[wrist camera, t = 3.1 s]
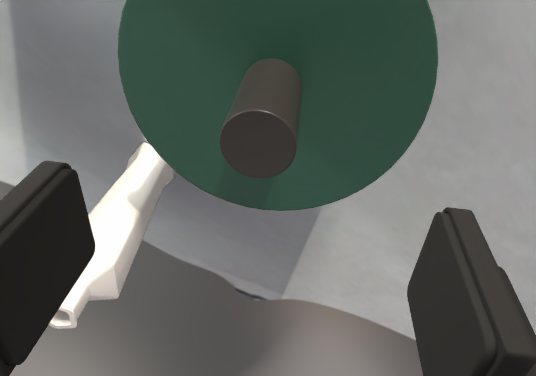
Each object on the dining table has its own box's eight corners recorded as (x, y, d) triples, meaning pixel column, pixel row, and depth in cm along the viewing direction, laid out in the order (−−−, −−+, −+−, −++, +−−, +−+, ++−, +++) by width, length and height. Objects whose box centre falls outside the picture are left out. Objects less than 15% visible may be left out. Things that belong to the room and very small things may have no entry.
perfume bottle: (169, 134, 32) (74, 283, 19) (186, 181, 34) (112, 339, 22) (115, 142, 33) (-7, 288, 20) (136, 187, 35) (38, 341, 23)
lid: (182, 209, 25) (144, 293, 20) (74, -59, 17) (-38, -39, 12) (429, 184, 23) (463, 275, 17) (436, -151, 15) (505, -180, 9)
